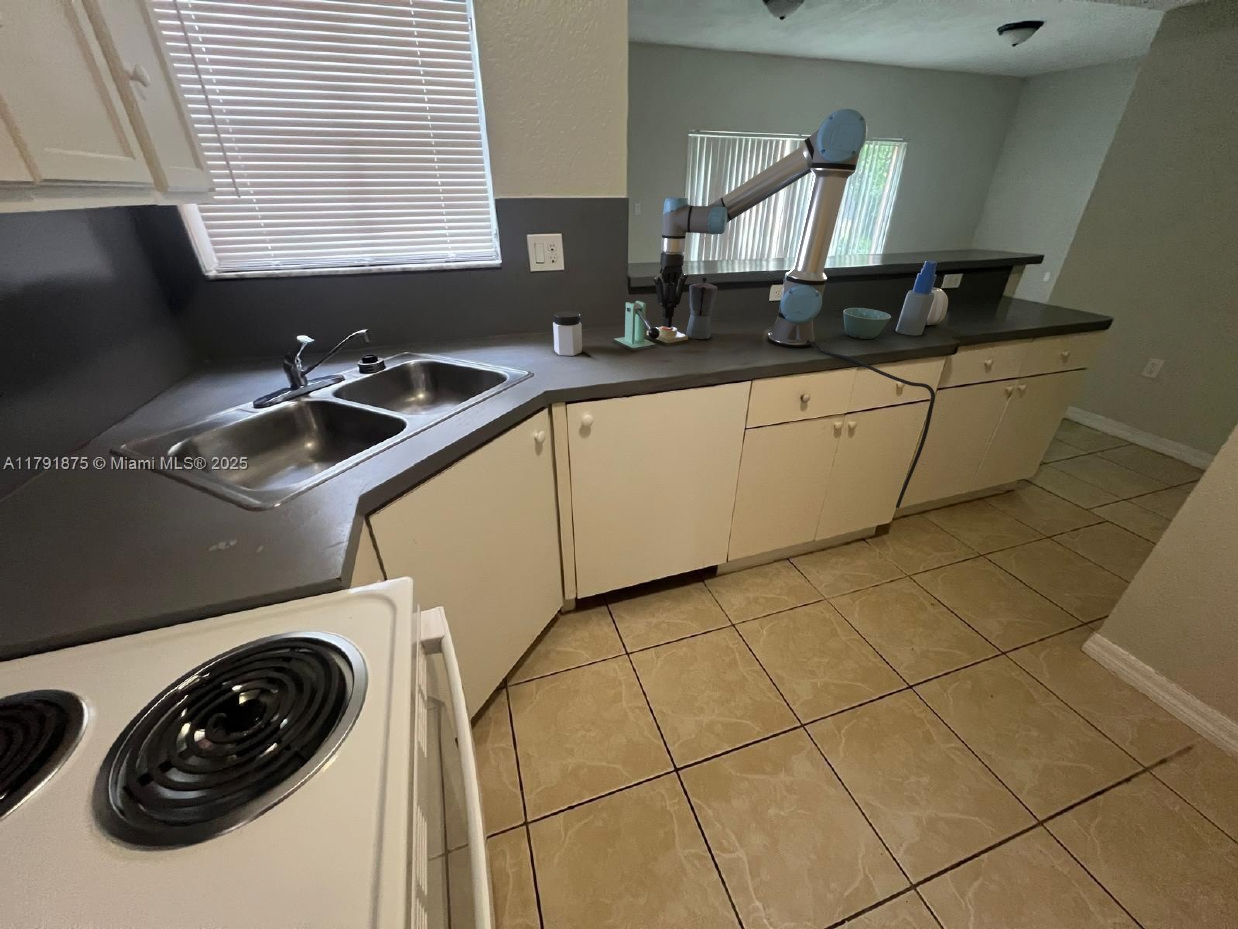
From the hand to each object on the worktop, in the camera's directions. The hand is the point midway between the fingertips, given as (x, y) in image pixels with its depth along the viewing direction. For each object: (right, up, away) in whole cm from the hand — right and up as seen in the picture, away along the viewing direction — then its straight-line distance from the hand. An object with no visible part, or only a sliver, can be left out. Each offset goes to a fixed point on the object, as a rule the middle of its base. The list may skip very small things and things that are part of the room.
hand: (667, 326), depth 167 cm
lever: (-9, -3, -10) cm, 14 cm away
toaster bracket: (-11, -7, -3) cm, 14 cm away
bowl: (+72, 0, +11) cm, 73 cm away
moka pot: (+12, -2, +6) cm, 13 cm away
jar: (-33, -11, -11) cm, 37 cm away
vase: (+106, +9, +29) cm, 110 cm away
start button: (0, -2, +1) cm, 2 cm away
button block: (0, -4, +2) cm, 5 cm away
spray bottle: (+93, +2, +17) cm, 95 cm away
